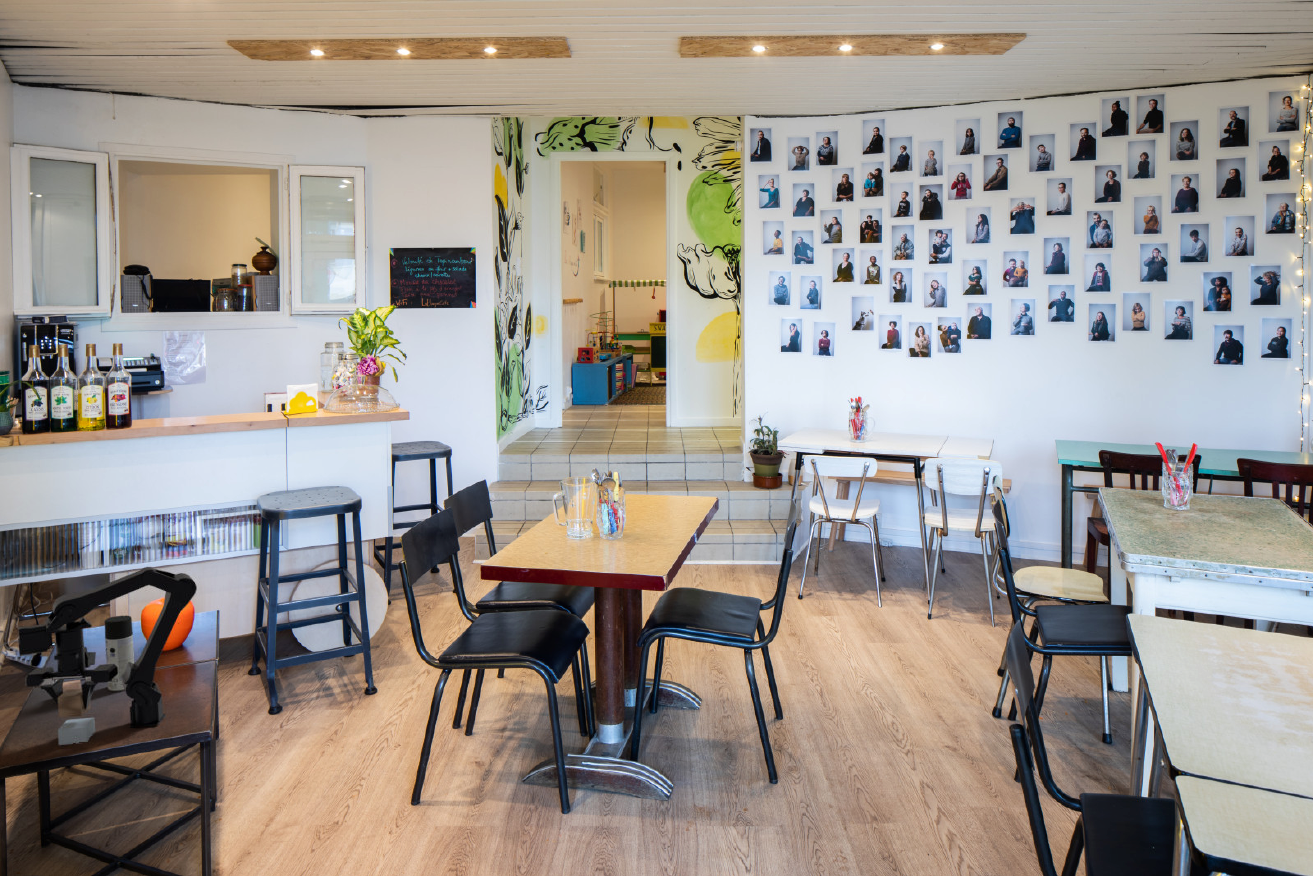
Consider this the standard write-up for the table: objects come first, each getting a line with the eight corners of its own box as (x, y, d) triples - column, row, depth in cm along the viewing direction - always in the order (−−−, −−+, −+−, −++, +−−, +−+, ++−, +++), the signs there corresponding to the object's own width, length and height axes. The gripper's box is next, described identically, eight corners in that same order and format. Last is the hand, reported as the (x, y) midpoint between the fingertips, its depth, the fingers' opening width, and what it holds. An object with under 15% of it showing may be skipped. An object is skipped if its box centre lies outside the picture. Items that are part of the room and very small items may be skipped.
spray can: (110, 684, 258) (106, 616, 256) (137, 681, 260) (133, 613, 258) (105, 693, 252) (101, 623, 249) (133, 690, 254) (129, 620, 252)
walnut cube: (90, 707, 226) (89, 688, 226) (81, 716, 221) (80, 696, 221) (68, 709, 225) (67, 689, 225) (59, 717, 220) (57, 697, 220)
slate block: (95, 732, 227) (94, 717, 227) (86, 743, 222) (85, 727, 221) (68, 735, 226) (67, 720, 225) (58, 745, 220) (57, 730, 220)
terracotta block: (81, 693, 252) (80, 679, 251) (79, 700, 247) (78, 686, 247) (59, 697, 249) (58, 683, 249) (57, 703, 245) (56, 689, 244)
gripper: (124, 634, 231) (128, 693, 233) (44, 638, 228) (49, 698, 230) (106, 649, 220) (110, 711, 222) (21, 654, 217) (26, 716, 219)
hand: (74, 708), depth 223 cm, fingers closed on walnut cube, 5 cm apart
